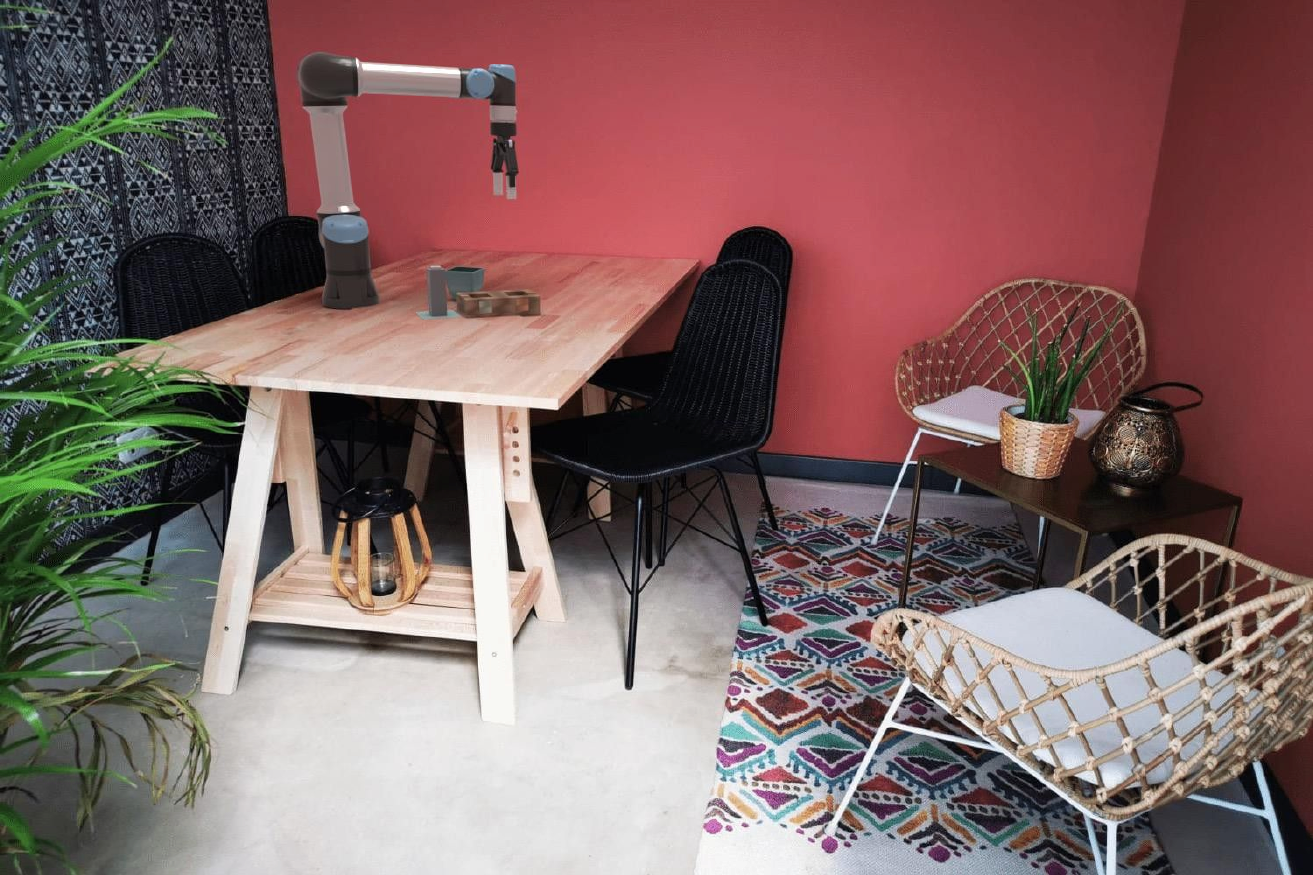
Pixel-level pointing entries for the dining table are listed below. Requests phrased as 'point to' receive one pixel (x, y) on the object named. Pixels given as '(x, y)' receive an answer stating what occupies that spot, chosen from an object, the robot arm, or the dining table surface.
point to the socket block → (498, 303)
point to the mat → (426, 315)
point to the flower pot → (464, 280)
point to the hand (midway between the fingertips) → (504, 197)
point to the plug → (437, 291)
